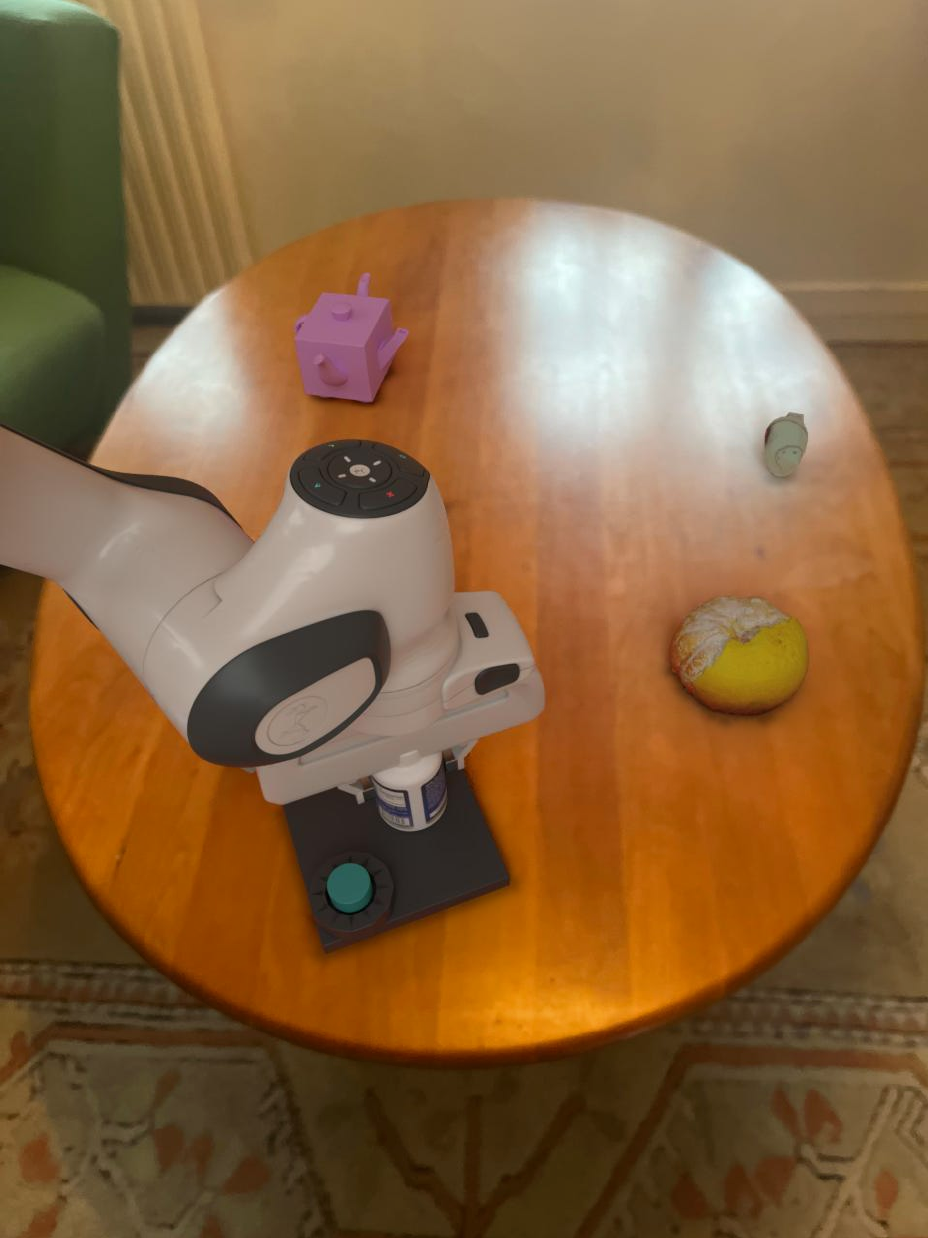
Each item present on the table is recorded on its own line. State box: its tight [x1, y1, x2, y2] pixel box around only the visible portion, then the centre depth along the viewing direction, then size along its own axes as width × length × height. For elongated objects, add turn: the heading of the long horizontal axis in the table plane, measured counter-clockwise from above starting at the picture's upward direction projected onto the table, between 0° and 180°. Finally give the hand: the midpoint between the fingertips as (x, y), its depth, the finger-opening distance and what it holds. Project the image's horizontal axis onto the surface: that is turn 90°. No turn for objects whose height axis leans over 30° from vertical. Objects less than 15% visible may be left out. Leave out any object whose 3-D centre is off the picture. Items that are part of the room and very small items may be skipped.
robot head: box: [763, 411, 809, 478], centre depth 94 cm, size 8×4×7 cm, turn 164°
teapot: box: [293, 272, 410, 403], centre depth 106 cm, size 18×13×10 cm
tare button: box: [327, 863, 373, 913], centre depth 66 cm, size 3×3×2 cm
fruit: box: [669, 594, 810, 717], centre depth 79 cm, size 11×10×8 cm
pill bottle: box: [370, 750, 447, 831], centre depth 69 cm, size 5×5×10 cm
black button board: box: [281, 768, 511, 955], centre depth 71 cm, size 14×12×3 cm
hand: (409, 778), depth 70 cm, fingers closed on pill bottle, 5 cm apart
